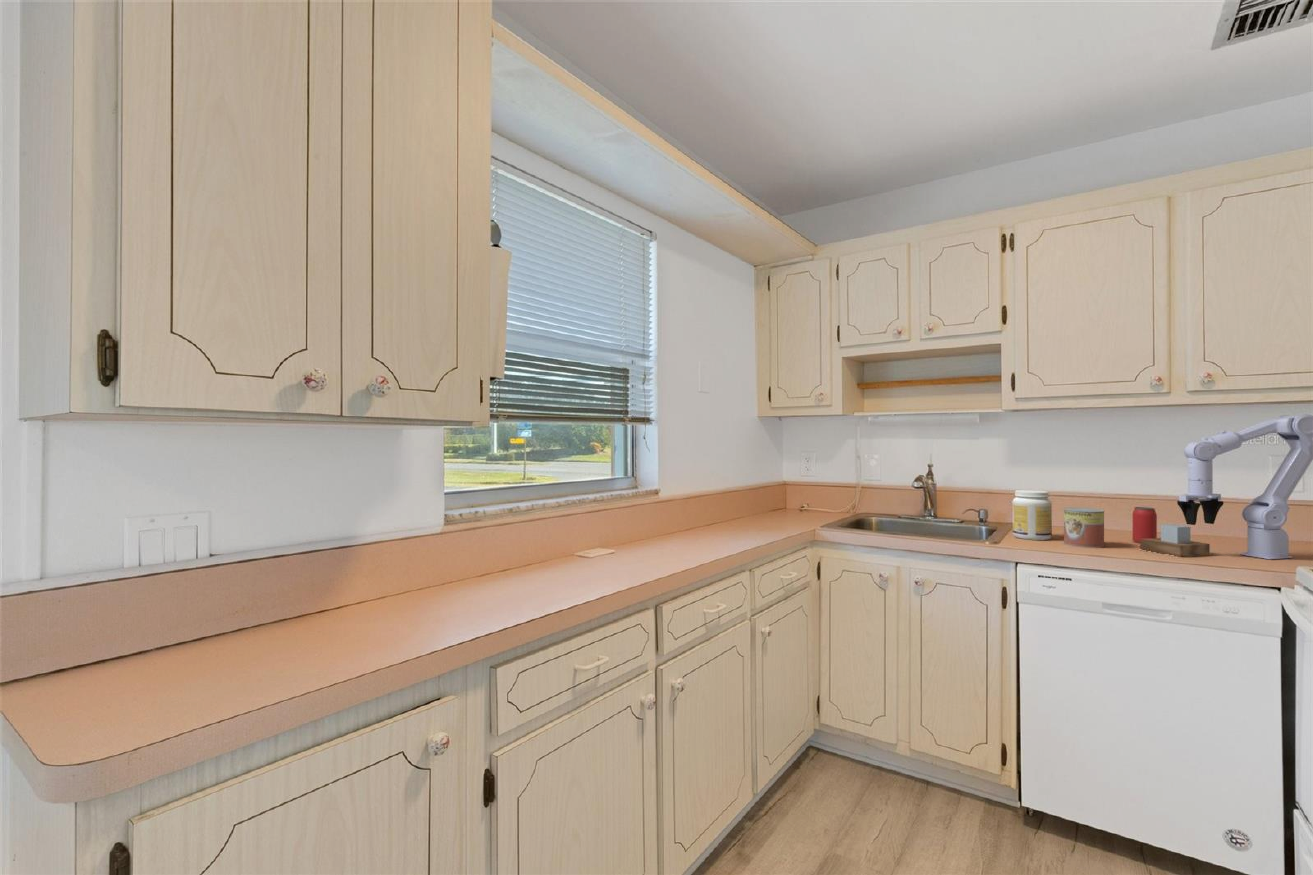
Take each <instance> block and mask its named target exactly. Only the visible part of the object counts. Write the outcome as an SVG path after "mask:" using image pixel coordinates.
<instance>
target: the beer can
mask: <svg viewBox="0 0 1313 875" xmlns="http://www.w3.org/2000/svg"><path fill="white" fill-rule="evenodd" d="M1155 509H1156V508H1154V507H1146V506H1145V507H1144V506H1136V507H1134V509H1133V511H1132V541H1133V542H1134V543H1137V544H1140V539H1152V538H1158V534H1157V533H1158V532H1157V531H1158V526H1157V525H1158V520H1157V518H1158V514H1157V512H1156V510H1155Z"/></svg>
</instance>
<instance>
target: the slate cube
mask: <svg viewBox="0 0 1313 875" xmlns="http://www.w3.org/2000/svg"><path fill="white" fill-rule="evenodd" d="M1160 538H1161V541H1166V542H1172V543H1190V541H1191V526H1188V525H1181V524H1173V523H1172V524H1161V525H1160Z"/></svg>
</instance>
